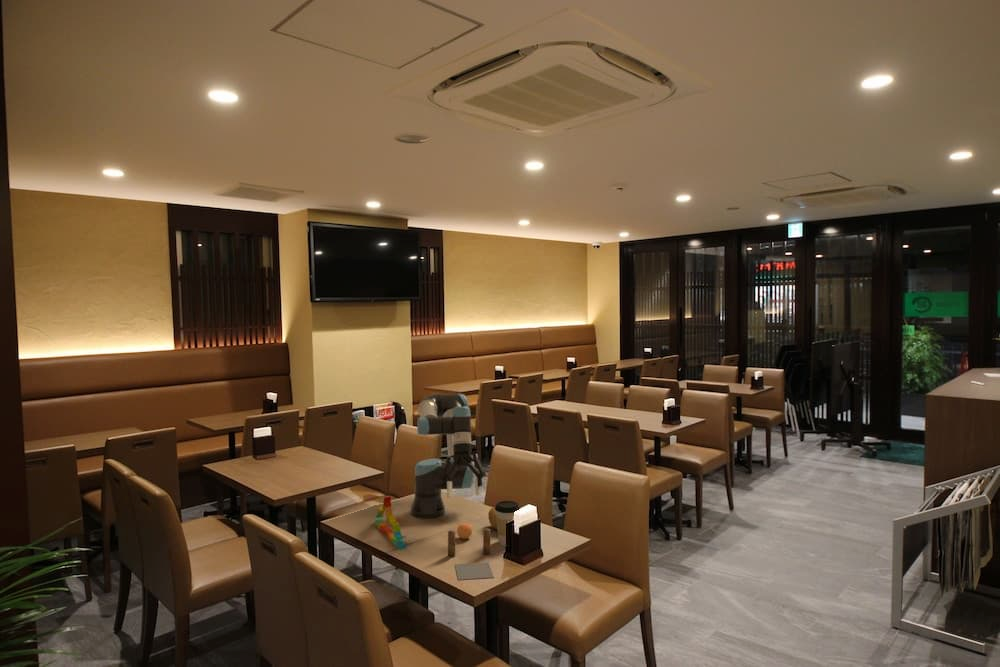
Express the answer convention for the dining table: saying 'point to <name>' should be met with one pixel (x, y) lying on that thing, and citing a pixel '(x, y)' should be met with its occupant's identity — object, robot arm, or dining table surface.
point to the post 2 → (486, 541)
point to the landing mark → (473, 571)
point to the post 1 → (451, 543)
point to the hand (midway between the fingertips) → (463, 496)
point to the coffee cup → (504, 517)
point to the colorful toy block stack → (392, 535)
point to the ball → (464, 530)
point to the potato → (492, 517)
